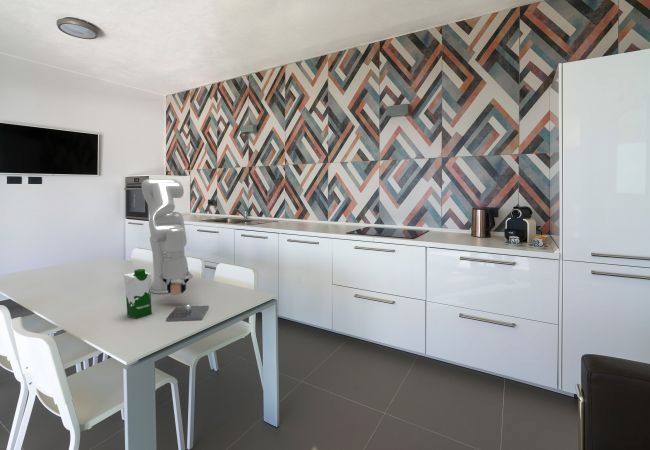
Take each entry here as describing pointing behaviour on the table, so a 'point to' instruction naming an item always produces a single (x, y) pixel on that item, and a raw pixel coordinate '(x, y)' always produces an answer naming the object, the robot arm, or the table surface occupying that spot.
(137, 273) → the milk carton
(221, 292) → the table surface
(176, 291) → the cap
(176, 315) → the stud plate
